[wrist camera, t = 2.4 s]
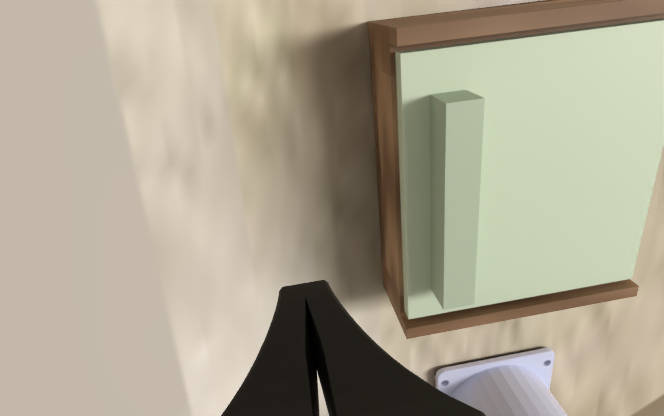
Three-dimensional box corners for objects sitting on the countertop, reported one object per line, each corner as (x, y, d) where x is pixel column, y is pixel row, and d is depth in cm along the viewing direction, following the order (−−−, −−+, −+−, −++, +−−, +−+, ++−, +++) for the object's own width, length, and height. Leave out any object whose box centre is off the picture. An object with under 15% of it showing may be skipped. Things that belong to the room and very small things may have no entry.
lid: (621, 271, 23) (657, 297, 21) (404, 310, 22) (419, 342, 20) (678, 15, 18) (734, 18, 16) (395, 51, 17) (414, 59, 15)
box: (580, 251, 27) (636, 295, 23) (383, 285, 25) (406, 338, 22) (624, -10, 20) (712, -11, 16) (368, 21, 19) (396, 28, 15)
